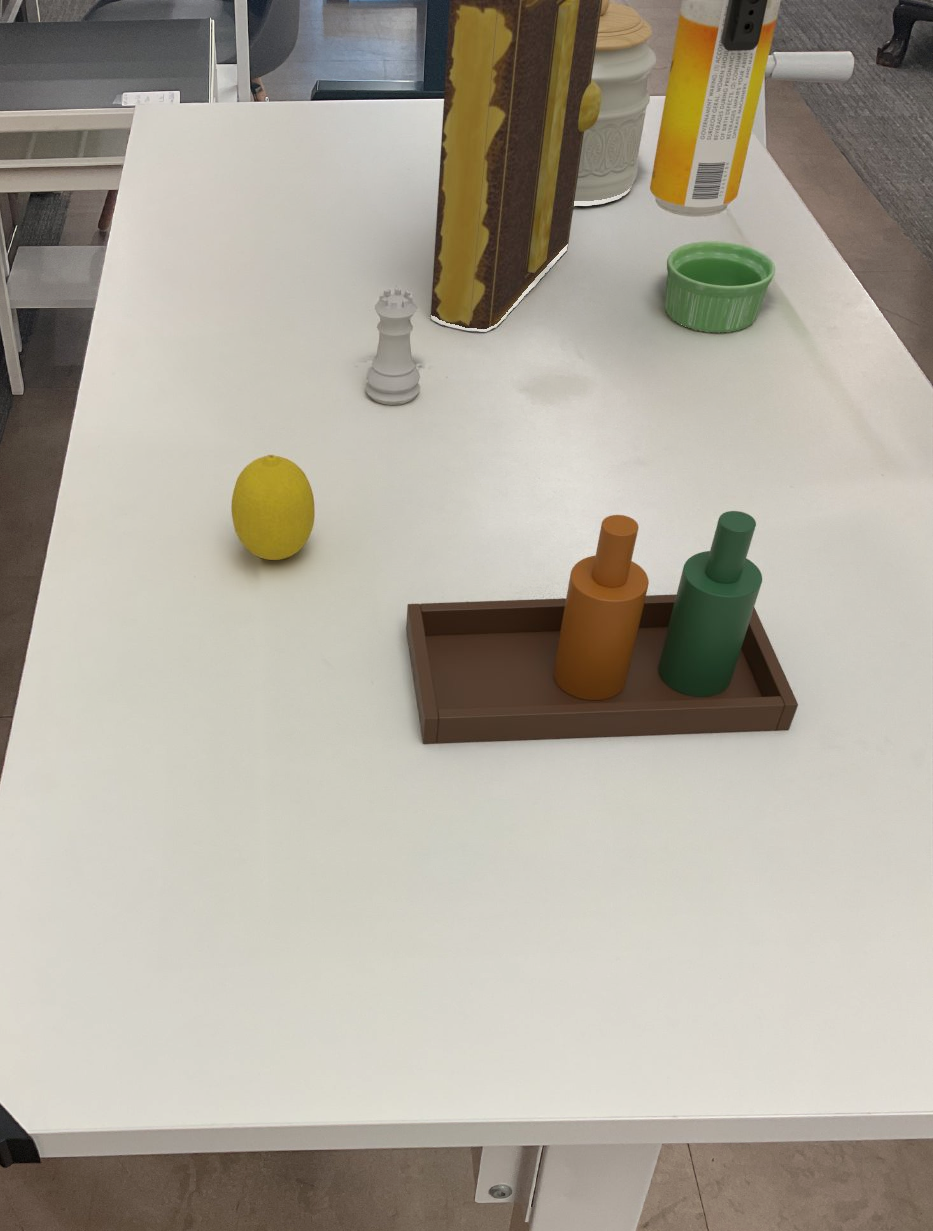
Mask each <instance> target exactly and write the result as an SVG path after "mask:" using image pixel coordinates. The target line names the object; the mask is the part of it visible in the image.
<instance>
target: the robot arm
mask: <svg viewBox="0 0 933 1231" xmlns="http://www.w3.org/2000/svg"><path fill="white" fill-rule="evenodd" d="M767 1H768V0H729V2H728V7H727V12H726V17H725V23H724V28H723V33H722V38H721V43H722V45H723V46H724V48H725V49H726V50H728V51H743V50H752V49H754V48H755V47H756V46H757V45H758V43H759V39H760V34H761V29H762V25H763V20H764V15H765V11H766V6H767Z"/></svg>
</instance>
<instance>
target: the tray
mask: <svg viewBox="0 0 933 1231" xmlns="http://www.w3.org/2000/svg"><path fill="white" fill-rule="evenodd" d="M676 595H677V593H676V594H652V595H651V594H649V595H647V594H646V597H645V602H644V606H643V610H642V615H641V619H640V623H639V628H638V632H637V636H636V641H635V645H634V649H633V654H632V658H631V662H630V667H629V671H628V675H627V680H626V684H625V686H624V688H623V689H622V691H621V692H620V693H618V694H617V695H615V696H614V697H611V698H609V699H605V700H597V701H592V700H584V699H580V698H576V697H574V696H571V695H569V694H568V693H566V692H565V691H563V690H562V689H561V688H560V687H559V686H558V685H557V683H556V681H555V678H554V666H555V660H556V655H557V649H558V643H559V637H560V632H561V626H562V620H563V614H564V608H565V603H566V598H562V597H561V598H537V599H535V598H534V599H512V600H509V599H508V600H482V601H481V600H480V601H478V600H477V601H454V602H426V603H425V602H424V603H422V602H421V603H407V606H406V622H405V623H406V624H405V630H406V638H407V644H408V645H407V646H408V651H409V658H410V665H411V670H412V671H411V672H412V678H413V685H414V693H415V698H416V707H417V712H418V719H419V726H420V733H421V739H422V744H423V745H442V744H443V745H444V744H466V743H467V744H468V743H493V742H497V743H498V742H521V741H548V740H572V739H573V740H575V739H601V738H623V737H624V738H627V737H628V738H629V737H651V736H653V737H655V736H675V735H676V736H679V735H680V736H681V735H703V734H727V733H730V734H731V733H732V734H733V733H754V732H755V733H756V732H757V733H758V732H781V731H782V732H783V731H789V730H790V728H791V725H792V723H793V720H794V718H795V715H796V712H797V709H798V706H799V703H798V701H797V698H796V696H795V694H794V692H793V690H792V688H791V685H790V683H789V681H788V679H787V676H786V674H785V672H784V669H783V667H782V665H781V663H780V661H779V659H778V656H777V654H776V652H775V650H774V647H773V645H772V643H771V640H770V639H769V636H768V633H767V632H766V630H765V627H764V625H763V623H762V621H761V619H760V616H759V614H758V612H757V610H756V607H755V606H754V609H753V612H752V615H751V619H750V622H749V625H748V628H747V631H746V635H745V638H744V641H743V644H742V647H741V650H740V654H739V657H738V660H737V663H736V666H735V670H734V673H733V676H732V679H731V682H730V684H729V686H728V687H727V688H726V689H725V690H724V691H723V692H721V693H719V694H716V695H713V696H708V697H696V696H689V695H685V694H682V693H680V692H677V691H675V690H674V689H672V688H670V687H669V686H668V685H667V684H665V683H664V681H663V680H662V679H661V677H660V675H659V671H658V666H659V662H660V658H661V654H662V650H663V646H664V642H665V638H666V634H667V630H668V626H669V622H670V618H671V614H672V610H673V607H674V603H675V599H676Z"/></svg>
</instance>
